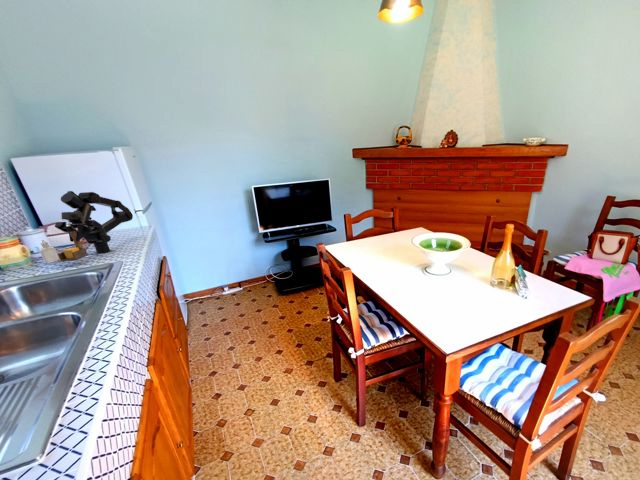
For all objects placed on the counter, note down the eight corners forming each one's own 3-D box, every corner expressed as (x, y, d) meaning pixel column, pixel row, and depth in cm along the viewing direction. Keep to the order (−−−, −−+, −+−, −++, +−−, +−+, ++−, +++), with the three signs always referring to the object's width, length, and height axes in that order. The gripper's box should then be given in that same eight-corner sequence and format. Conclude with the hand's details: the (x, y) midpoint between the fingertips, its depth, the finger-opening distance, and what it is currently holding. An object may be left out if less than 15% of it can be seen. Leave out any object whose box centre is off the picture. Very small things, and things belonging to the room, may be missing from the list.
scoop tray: (77, 254, 150) (67, 231, 146) (91, 253, 151) (82, 230, 146) (60, 261, 141) (49, 237, 137) (76, 260, 142) (65, 236, 137)
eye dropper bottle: (60, 262, 153) (50, 239, 148) (45, 265, 149) (34, 242, 145) (60, 259, 156) (50, 238, 151) (45, 263, 152) (35, 240, 148)
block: (73, 255, 146) (69, 247, 145) (81, 255, 146) (78, 247, 145) (66, 258, 143) (62, 250, 141) (74, 257, 143) (71, 250, 141)
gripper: (49, 206, 144) (38, 234, 138) (88, 203, 144) (79, 232, 138) (69, 218, 154) (60, 245, 148) (106, 215, 154) (98, 242, 148)
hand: (74, 241), depth 145 cm, fingers closed on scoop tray, 2 cm apart
